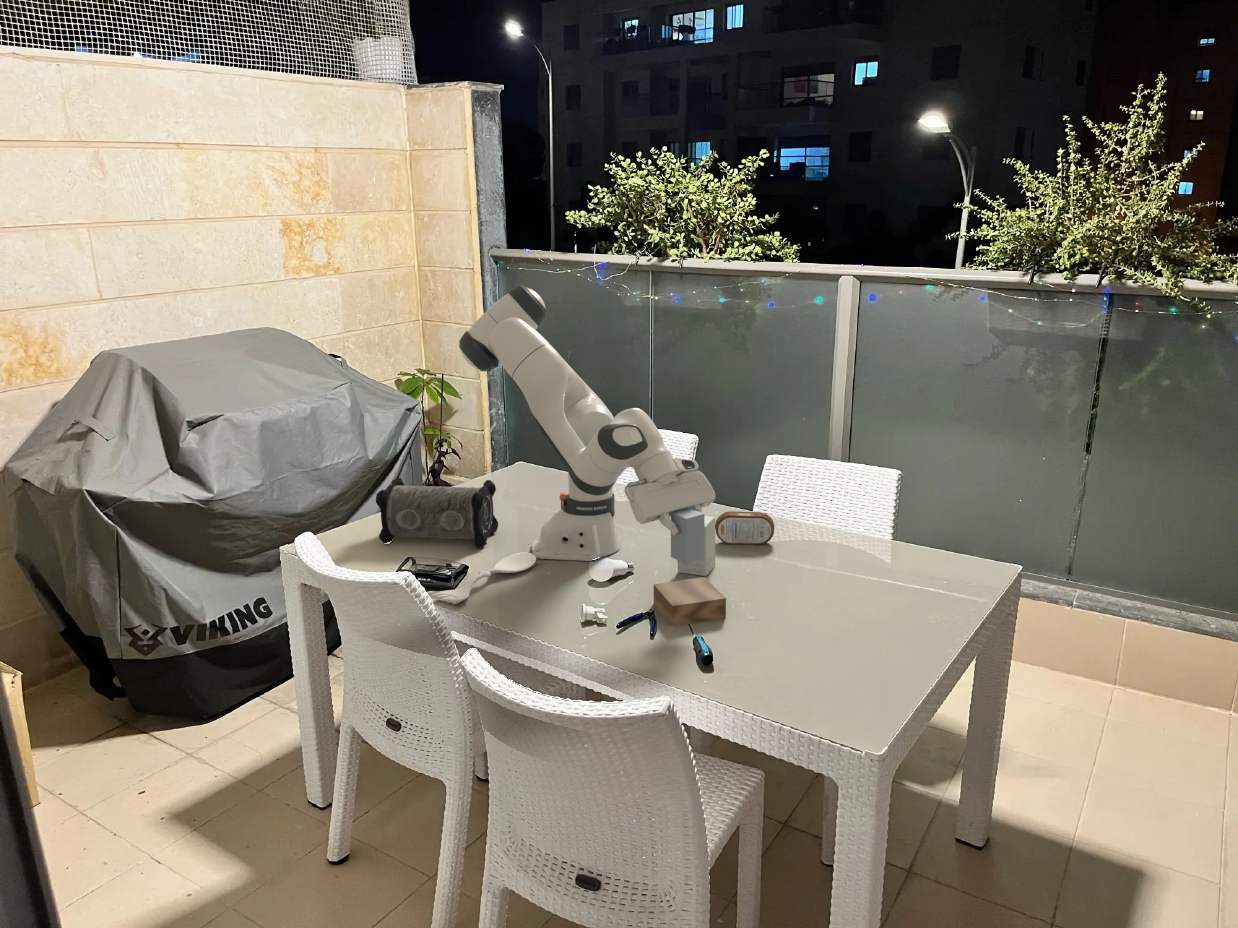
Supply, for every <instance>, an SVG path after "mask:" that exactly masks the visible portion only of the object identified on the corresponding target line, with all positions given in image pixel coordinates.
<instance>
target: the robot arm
mask: <svg viewBox="0 0 1238 928" xmlns="http://www.w3.org/2000/svg"><path fill="white" fill-rule="evenodd" d="M547 315H548V309H547V308H546V305H545V302H544V300H543V299H542V297H541V295H539V293H537V292H536V291H535V290H533V289H532V288H529V287H527V286H526V285H522V284H519V285H516V286H515V287H513V288H511V289H509V290H508V291H507V294H505V295H503V296H502V297H500V298H499V299H498V300H497V301H495V302H494V303H492V305H491V306H489V307H488V308H487V309H486V311H485V312H484V313H483V314H482V315H480V317H479V318H478V319H477V320H476V321H475V322H474V323H473V325H472V326H471V327H470V328H469V329H468V330H466V331H465V332H464V333H463V334H462V336H461V337H460V339H459V341H458V345H459V346H458V347H459V349H460V352H461V354H462V357H463V359H464V360H465V361H466V363H468V364H469V365H470V366H471V367H472V368H474V369H477V370H479V371H480V372H491V371H493V370H496V369H497V368H499V365H500V364H501V367H503V369H504V370H505V371H506V372H507V375H509V376H510V377H511V379H512V380H513V381H515V383H516V385H517V386H518V387H519V390H521V392H522V394H523V396H524V397H525V400H526V401H527V404H528V406H529V407H528V408H529V410H530V413H531V417H532V419H533V420H534V421H535V423H536V425H537V427H538V428H539V429H540V431H541V432H542V434H543V435H544V436H545V439H547V441H548V442H549V444H550V445H551V447H552V448H553V450H554V451H555V452H556V454H557V455H558V456H559V458H560V460H561V461H562V463H563V464H564V466H565V468H566V470H567V479H568V480H567V481H568V482H567V484H568V487H567V488H568V493H567V492H566V491H562V492H560V494H559V500H560V507H561V508H560V509H559V510H558V511H557V512H555V513H554V514H553V515H551V516H550V517H548V518H547V519H546V520H545V521H544V522H543V525H542V526H541V530H540V534H539V537H537V538H535V539H534V540H533V542H532V545H531V554H533V555H534V556H535V557H536V559H539V558H540V560H541V559H542V560H544V559H545V560H561V561H564V560H566V561H581V562H583V561H584V562H585V561H587V562H593V561H592V559H595V558H598V557H601V558H603V557H606V556H609V555H612V554H614V553H616V552H618V551H619V550H620V548H621V544H620V541H619V537H618V534H617V530H616V529H617V528H616V523H615V513H616V499H615V494H614V492H613V487H614V486H615V484H616V482H617V480H618V478H619V477H620V476H622V474H623V473H624V471H625V470H626V469H627V468H632V469H633V470H634V473H635V475H636V477H637V478H638V480H636V481H631V482H628V483H627V484H626V485H625V487H624V493H625V496H626V498H627V499H628V502H629V505H630V507H631V511H632V514H633V515H634V518H635V520H636V522H638V523H639V524H641V525H644V524H645V525H646V524H648V523H652V522H656V521H659V522H660V524H661V525H663V526H664V527H665V528H666V529H668V530H669V532H670V534H671V533H672V535H673V536H675V535H678V534H680V533H681V531H682V530H681V528H680V526H679V524H676V525H675V523H673V522H672V521H671V513H672V512H675V511H679V510H682V509H686V508H691V509H693V510H696V511H699V512H701V513H703V508H707V507H709V506H710V505H711V504H712V503H713V502H715V500H716V492H715V489H714V488H713V486H712V484H711V483H710V481H709V480H708V478H707V477H706V475H705V474H704V473H703V472H702V471H700V470H698V469H699V464H698V462H697V461H696V460H695V459H687V458H686V459H685V458H681V457H675V456H673V454H672V453H671V451H669V449H668V448H667V447H666V445H665V442H664V439H663V436H662V435H661V433H660V431H659V429H658V427H657V426H656V424H655V423H654V421H653V420H652V418H651V417H650V416H649V415H648V414H647V413H646V412H645V411H644V410H643V409H641V408H638V407H632V408H626V409H624V410H622V411H619V412H618V413H617V414H616V415H615V416H614V415H613V414H612V412H611V411H610V410H609V408H608V407H607V405H606V404H605V403H604V402H603V400H602V399H601V398H600V397H599V396H598V395H597V394H596V392H594V390H593V389H591V388H590V386H589V385H588V384H587V382H585V381H584V380H583V379H582V378H581V377H580V375H578V373H577V372H576V371H575V370H574V369H573V368H572V367H571V366H570V365H569V364H568V362H567V361H566V360H565V359H564V358H563V357H562V356H561V354H560V353H559V352H558V351H557V350H556V349H555V348H554V347H553V345H551V343H550V342H549V341H548V340H547V339H546V338H545V337H544V336H543V335H542V334H541V333H539V332H538V331H537V329H538V328H540V329H543V327H544V326H543V324H544V323H545V321H546V319H547V317H548V316H547ZM704 525H705V523H704ZM602 556H603V557H602Z"/></svg>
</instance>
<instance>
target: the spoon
mask: <svg viewBox="0 0 1238 928" xmlns="http://www.w3.org/2000/svg"><path fill="white" fill-rule="evenodd" d="M536 561H537V558H536V557H535V556H534V555H533V554H532V552H531V553H530V552H526V551H525V552H524V551H522V552H516V553H513V554H509V555H508V556H505V557H503V558H501V559H500V560H499V561H497V562H495V563H494V564H493V567H492V568H488V569H486V570H481V571H478V574H477V575H475V576H473V577H472V578H471V579H470V580H469V581H468V582H467V583H465V585H463V586H462V587H459V588H457V589H449V590H447V589H446V590H442V591H441V590H440V591H433V590H430V591H426V592H427V593H428V595H429V596H428V597H430V598H433V599H434V600H440V601H441V602H446V603H449V604H453V605H457V604H459V603H461V602H463V601H465V600H467V599H468V598H469V597H470V592H471V589H472V588H473V585H475V583H477V582H478V581H479V580H481V579H483V578H487V577H490V576H492V574H495V573H496V574H497V573H498V574H499V573H501V574H514V573H520V572H523V571H525V570H528V569H530V568H532V566H534V564H535V563H536Z"/></svg>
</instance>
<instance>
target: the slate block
mask: <svg viewBox="0 0 1238 928" xmlns="http://www.w3.org/2000/svg"><path fill="white" fill-rule="evenodd" d="M705 516H706V515H705V513H704V512H702V513H701V512H699V511H696V510H693V509H691V508H686V509H682V510H679V511H675V512H672V513H671V516H670V520H671V521H672V522H673V523H675V525H676V524H679V526H680V528H681V530H682V531H681V533H680V534H678V535H675V536H673V535H672V533H671V532H670V558H672V559H675V561H677V562H678V561H681V562H683V563H685V564H688V563H691V562H694V561H697V560H700V559H703V558H704V517H705Z"/></svg>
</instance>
